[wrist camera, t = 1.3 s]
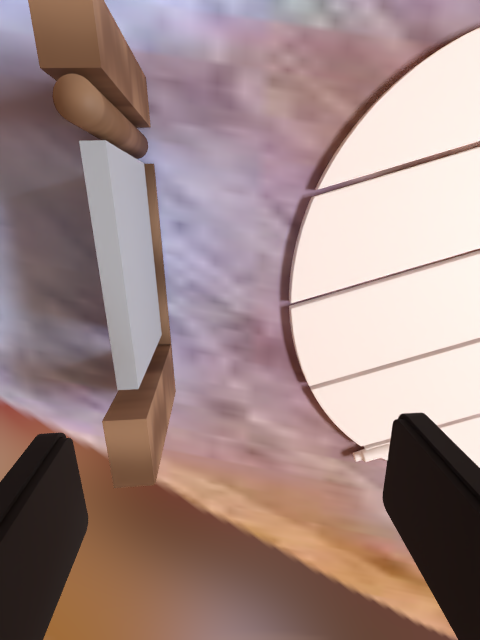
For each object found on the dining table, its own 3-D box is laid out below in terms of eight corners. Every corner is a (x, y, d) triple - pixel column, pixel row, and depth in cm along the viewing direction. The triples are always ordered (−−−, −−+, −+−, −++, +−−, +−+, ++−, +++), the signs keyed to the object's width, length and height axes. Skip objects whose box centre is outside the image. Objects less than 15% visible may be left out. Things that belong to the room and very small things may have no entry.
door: (109, 164, 24) (52, 141, 16) (144, 163, 24) (105, 140, 16) (132, 335, 28) (96, 391, 20) (161, 334, 29) (138, 389, 20)
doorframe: (109, 78, 23) (23, -28, 13) (145, 77, 23) (88, -27, 13) (148, 392, 31) (113, 487, 20) (175, 391, 31) (155, 485, 21)
